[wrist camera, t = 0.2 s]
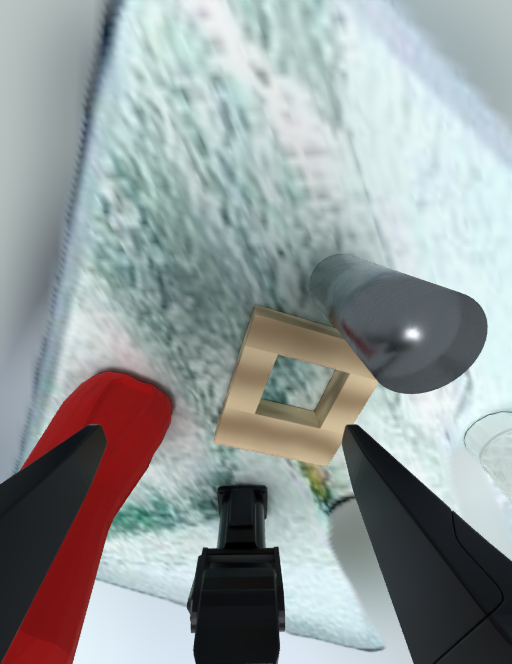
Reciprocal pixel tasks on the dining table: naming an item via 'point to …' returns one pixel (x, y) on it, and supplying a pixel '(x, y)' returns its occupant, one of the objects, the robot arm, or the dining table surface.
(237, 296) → the dining table surface
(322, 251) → the dining table surface
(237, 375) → the slot board
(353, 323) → the pin
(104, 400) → the water bottle
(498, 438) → the white cup
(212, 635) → the robot arm
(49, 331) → the dining table surface
